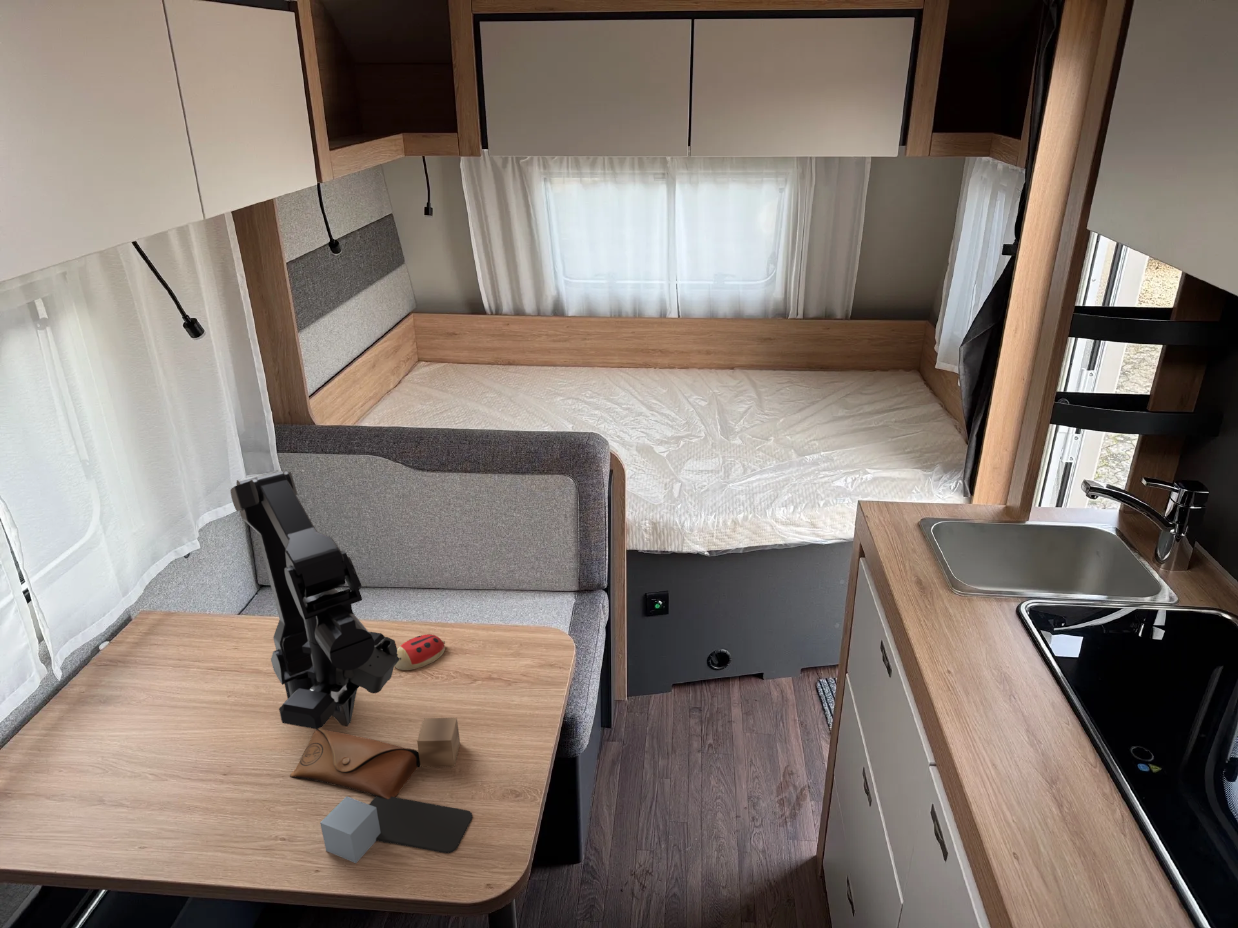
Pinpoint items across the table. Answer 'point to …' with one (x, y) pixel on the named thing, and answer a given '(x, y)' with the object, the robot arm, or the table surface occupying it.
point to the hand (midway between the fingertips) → (346, 724)
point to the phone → (420, 824)
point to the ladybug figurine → (419, 652)
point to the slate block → (350, 829)
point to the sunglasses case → (357, 763)
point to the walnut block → (438, 742)
